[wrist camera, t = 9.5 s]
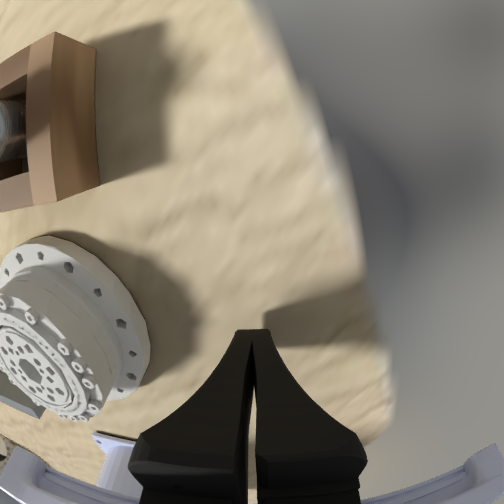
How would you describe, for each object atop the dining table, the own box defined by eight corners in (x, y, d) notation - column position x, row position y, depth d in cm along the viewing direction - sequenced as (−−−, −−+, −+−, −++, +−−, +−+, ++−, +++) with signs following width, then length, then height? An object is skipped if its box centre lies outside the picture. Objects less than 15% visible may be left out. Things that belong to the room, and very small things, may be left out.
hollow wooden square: (100, 185, 10) (57, 201, 7) (12, 202, 10) (-28, 219, 8) (96, 49, 8) (54, 31, 5) (6, 91, 8) (-35, 90, 5)
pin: (63, 148, 10) (-35, 166, 5) (28, 159, 10) (-61, 182, 5) (62, 96, 9) (-34, 90, 4) (26, 111, 9) (-62, 116, 4)
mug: (8, 437, 23) (-8, 466, 17) (35, 462, 25) (22, 489, 19) (-16, 426, 24) (-30, 449, 18) (8, 449, 26) (-5, 473, 20)
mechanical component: (184, 379, 14) (98, 204, 11) (166, 444, 10) (33, 238, 7) (65, 385, 15) (-8, 261, 12) (39, 428, 11) (-54, 292, 8)
